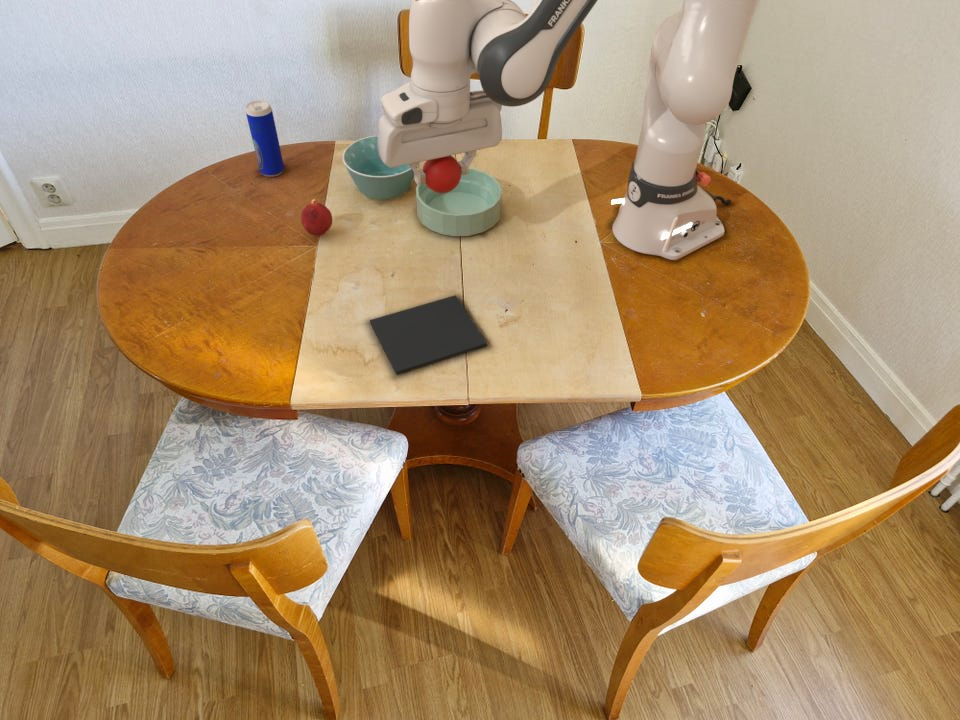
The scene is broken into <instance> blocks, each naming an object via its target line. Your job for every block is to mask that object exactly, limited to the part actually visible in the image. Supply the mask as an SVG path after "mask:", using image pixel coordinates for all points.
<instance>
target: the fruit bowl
mask: <svg viewBox="0 0 960 720" xmlns="http://www.w3.org/2000/svg"><path fill="white" fill-rule="evenodd" d="M415 201H416V202H415V203H416V215H417V218H418V219H419V222H420V223H421V224H422V225H423V226H424V227H426V228H428V229H429V230H430V231H432V232H435V233H437V234H441V235H443V236H444V235H445V236H451V237H470V236H473V235H479V234H482V233H484V232H486V231H487V230H490V229H492V228H493V227H494V226H495V225H496V224H497V223H498V222H499V220H500V218H501V214H502V206H503V189H502V184H500V182H499V181H498V179H496V177H494V176H493V175H491V174H490V173H488V172H487V171H483V170H480V169H478V168H474V167H469V174H465V175H461V179H460V182H459V184H458V185H457V186H456V188H454V189H453V190H452V191H450V192H447V193H437V192H435V191H433V190H431V189H430V188H429V187H428V186H427V185H426V183H424V184H419V185H416V186H415Z"/></svg>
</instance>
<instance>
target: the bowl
mask: <svg viewBox="0 0 960 720" xmlns="http://www.w3.org/2000/svg"><path fill="white" fill-rule="evenodd" d="M342 162H343V164H344V166H345V168H346V170H347V172H348V174H349V176H350V178H351V180H352V181H353V183H354V185H355V186H356V189H357V190H358V192H360V193H361V195H363V196H364V197H367V198H370V199H371V200H375V201H379V202H387V201H392V200H396V199H398V198H400V197H402V196H403V195H405V194H406V193H407V192H408V191H409V190H410V188H411V186H412V184H413V181H414V171H413V170H412V169H411V167H410V166H409V164H408V165H403V166H398V167H394V168H389V167H388V166H386V165H385V164H384V163H383V161H382V160H381V158H380V156H379V153H378V134H376V135H370V136H365V137H362V138H360V139H357V140H355V141H354V142H352V143H350V144H349V145H348V146H347V147H346V148H345V149H344V151H343V153H342ZM416 168H417V169H418V167H416Z"/></svg>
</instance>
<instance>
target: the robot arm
mask: <svg viewBox="0 0 960 720" xmlns="http://www.w3.org/2000/svg"><path fill="white" fill-rule="evenodd" d="M759 1H760V0H683V2H682V5H681V10H680V11H679V12H675V13H673V14H671V15H669V16H668V17H666V18H665V19H664V20H663V21H662V22H661V23H660V24H659V25H658V27H657V28H656V29H655V32H654V34H653V38H652V42H651V50H650V56H649V57H650V58H649V63H648V71H647V77H646V84H645V92H644V93H645V95H644V101H643V102H644V103H643V112H642V113H643V114H642V122H641V129H640V134H639V138H638V142H637V143H638V144H637V149H636V153H635V158H634V161H632V164H631V167H630V170H629V175H628V179H627V187H626V188H627V190H626V191H625V195H624V197H622V198H615V199H612V200H611V202H610V204H611V205H616V204H617V205H618V204H620V206H619V209H618V214H617V215H616V217H615V219H614V221H613V222H612V226H611V227H612V228H611V230H612V233H613V236H614V238H615V239H616V240H617V241H618V242H619V243H620V244H621V245H623V246H624V247H626V248H628V249H629V250H631V251H633V252H637V253H640V254H645V255H652V256H657V257H661V258H663V259H666V260H669V261H678V260H680V259H682V258H684V257H686V256H687V255H689V254H692V253H693V252H695V251H697V250H699V249H702V247H704V246H707V245H708V244H711V243H713V242H714V241H716V240H718V239H721V238H722V237H724V236H725V232H726V231H725V227H724V224H723V223H722V221H721V220H720V219H719V217H718V216H717V214H718V213H717V212H718V209H717V207H718V206H717V204H716V202H717V201H720V202H721V204H723V205H728V204H730V203H732V200H731V199H730V198H728V199H727V200H725V198H724V197H723V196H722V195H721V196H720V195H714V194H712V193H710V192H709V191H708V190H706V189H705V188H703V187H706V186H708V185H709V183H711V180H712V177H711V175H709V174H707V173H706V172H705V171H701V172H700V171H698V170H699V169H698V168H697V166H698V163H699V159H700V156H701V152H702V148H703V145H704V142H705V138H706V124H708V123H709V122H712V121H713V120H715V119H716V118H718V117H719V116H720V115H721V114H722V113H723V112H724V111H725V110H726V108H727V107H728V105H729V103H730V101H731V97H732V93H733V86H734V79H735V76H736V72H737V68H738V65H739V62H740V60H741V56H742V54H743V50H744V47H745V43H746V41H747V40H746V39H747V36H748V33H749V29H750V26H751V23H752V20H753V17H754V14H755V11H756V9H757V7H758V4H759ZM597 2H598V0H537V1H536V3H535V4H534V5H533V7H532V9H531V10H530V11H529V13H528V14H527V15H526V14H525V12H524V11H523V9H522V8H520V6H519V5H518V4H517V3H515V2H514V1H512V0H410V6H409V17H408V45H409V46H408V47H409V53H410V56H411V59H412V69H411V73H410V80H409V81H408V82H406V83H405V84H403V85H401V86H399V87H397V88H395V89H393V90H392V91H389V92H387V93H386V94H384V95H383V96H382V97H381V98H380V105H381V108H382V111H383V114H382V115H381V116H380V118H379V120H378V125H377V135H378V153H379V156H380V158H381V160H382V161H383V163H384V164H385V165H386V166H388V167H389V168H394V167H398V166H403V165H408V164H409V166H410V167H411V169H412V170H413V171H414V178H413V180H414V181H415V183H416V184H417V185H419V184H424V183H426V174H425V172H424V171H423V168H421V169H418V168H420V165H421V164H420V163H422V162H426V161H427V160H432V159H437V158H441V157H446V156H456V155H460V154H463V156H462V157H461V158H462V159H461V160H459V161H458V160H457V161H458V163H459V165H460V168H461V175H465V174H469V168H470V166H471V164H472V163H473V161H474V159H475V158H476V156H477V151H480V150H484V149H489V148H495V147H497V146H498V145H499V144H500V142H501V141H502V139H503V123H502V117H501V111H502V109H503V107H510V108H511V107H512V108H513V107H521V106H524V105H527V104H529V103H531V102H533V101H535V100H536V99H538V98H539V97H540V96H541V95H542V94H543V93H544V92H545V91H546V89H547V88H548V86H549V84H550V83H551V81H552V79H553V76H554V73H555V72H556V71H555V70H556V68H557V66H558V62H559V60H560V58H561V56H562V54H563V52H564V50H565V48H566V47H567V45H568V44H569V42H570V41H571V39H572V38H573V36H574V35H575V34H576V32H577V31H578V29H579V28H580V26H581V25H582V23H583V22H584V21H585V19H586V18H587V16H588V15H589V13H590V12H591V11H592V9H593V8H594V6H595V5H596V4H597ZM474 74H477V75H478V78H479V83H480V85H481V89H482V90H474V91H471V77H472V75H474ZM416 167H417V168H416ZM698 182H699V183H700V185H701V186H703V187H701V186H700V185H699V184H698ZM417 185H416V186H417Z"/></svg>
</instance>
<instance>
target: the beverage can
mask: <svg viewBox="0 0 960 720" xmlns="http://www.w3.org/2000/svg"><path fill="white" fill-rule="evenodd" d="M245 115H246V119H247V123H248V127H249V132H250V137H251V140H252V144H253V149H254V152H255V157H256V161H257V165H258V169H259V172H260V173H261V174H262V175H263V176H265V177H268V178H274V177H278V176H280V175H281V174H283V172H284V170H285V164H284V161H283V155H282V151H281V146H280V142H279V137H278V136H279V135H278V132H277V127H276V122H275V117H274V112H273V108H272V106H271V104H270V103H269V102H268V101H266V100H261V99H260V100H253V101H250V102H249V103H247V104H246V105H245Z"/></svg>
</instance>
